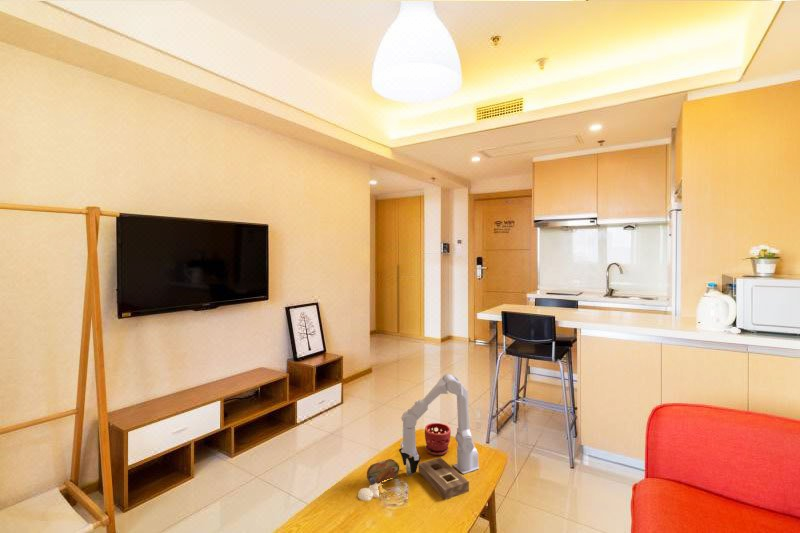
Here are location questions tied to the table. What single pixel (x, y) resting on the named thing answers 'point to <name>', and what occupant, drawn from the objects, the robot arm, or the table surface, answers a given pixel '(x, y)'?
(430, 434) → the plant pot
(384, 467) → the tin
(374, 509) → the table surface
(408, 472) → the pin
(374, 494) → the astronaut figurine
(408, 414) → the robot arm
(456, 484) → the bore block
